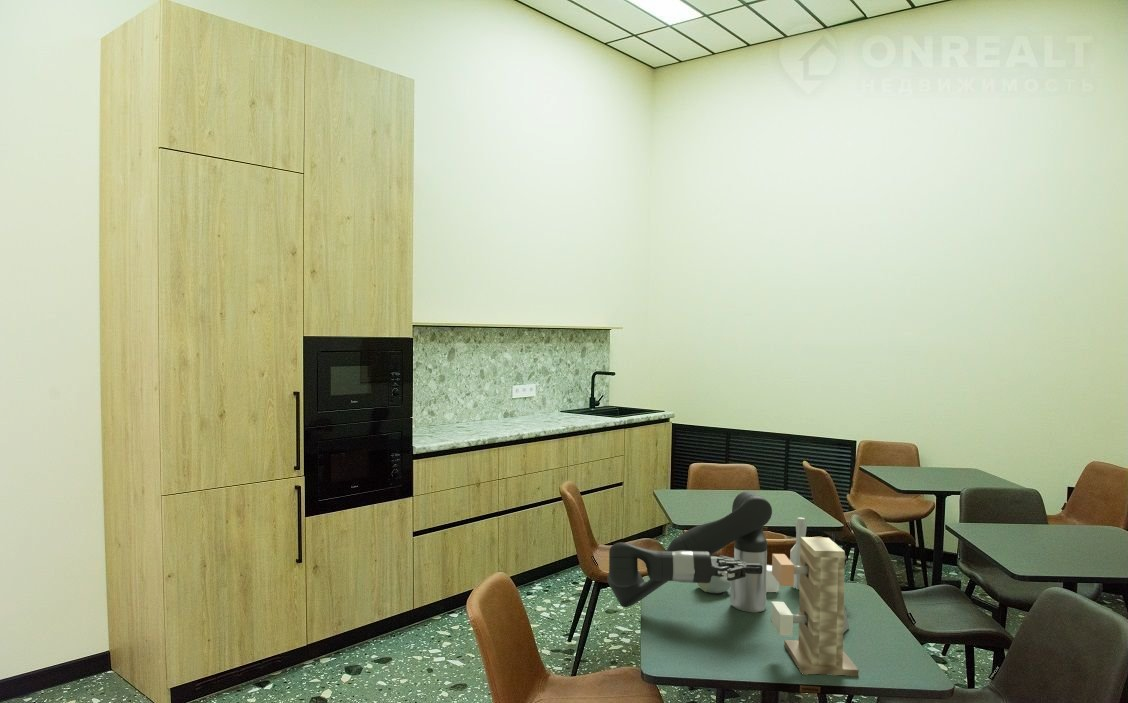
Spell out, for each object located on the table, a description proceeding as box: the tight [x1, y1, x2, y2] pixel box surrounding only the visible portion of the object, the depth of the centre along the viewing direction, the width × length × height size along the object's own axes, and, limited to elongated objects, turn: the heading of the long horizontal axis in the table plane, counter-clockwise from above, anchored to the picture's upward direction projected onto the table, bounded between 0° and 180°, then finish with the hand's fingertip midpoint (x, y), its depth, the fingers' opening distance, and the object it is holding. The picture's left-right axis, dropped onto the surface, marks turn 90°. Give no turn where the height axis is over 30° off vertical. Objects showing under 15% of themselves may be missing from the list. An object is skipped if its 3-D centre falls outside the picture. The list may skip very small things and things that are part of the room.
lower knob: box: [770, 601, 808, 637], centre depth 178 cm, size 8×9×5 cm
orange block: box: [771, 553, 809, 587], centre depth 178 cm, size 8×9×5 cm
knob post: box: [783, 536, 860, 677], centre depth 178 cm, size 13×16×28 cm
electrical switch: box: [843, 606, 850, 634], centre depth 197 cm, size 9×5×9 cm, turn 141°
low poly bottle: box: [789, 516, 808, 590], centre depth 231 cm, size 6×6×22 cm
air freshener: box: [696, 555, 731, 594], centre depth 227 cm, size 11×8×10 cm
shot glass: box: [766, 564, 780, 593], centre depth 229 cm, size 7×7×7 cm
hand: (761, 568), depth 179 cm, fingers closed
